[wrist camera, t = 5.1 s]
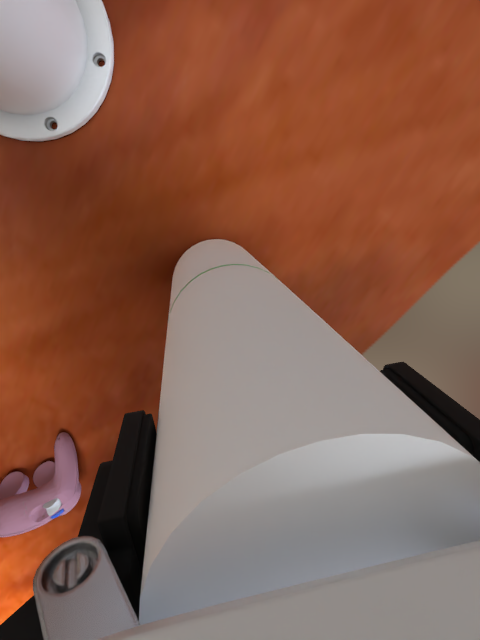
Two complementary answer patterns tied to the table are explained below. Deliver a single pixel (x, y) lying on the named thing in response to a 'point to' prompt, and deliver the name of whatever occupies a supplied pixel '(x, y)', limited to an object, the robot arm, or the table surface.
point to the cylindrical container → (283, 449)
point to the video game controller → (40, 491)
